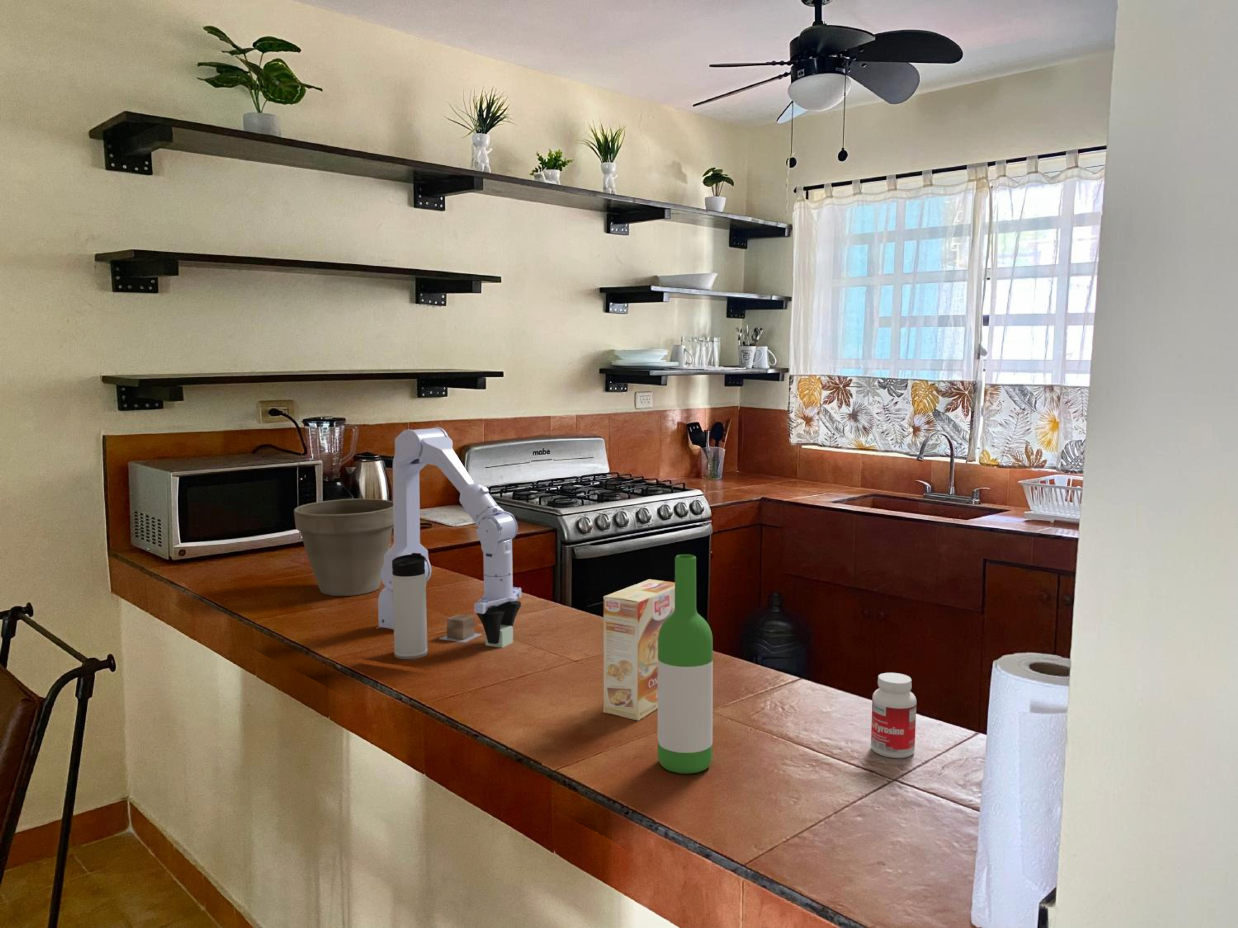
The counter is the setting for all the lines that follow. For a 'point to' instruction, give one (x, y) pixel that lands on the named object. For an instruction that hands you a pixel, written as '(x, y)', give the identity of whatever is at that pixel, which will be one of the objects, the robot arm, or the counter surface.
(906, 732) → the pill bottle
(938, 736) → the counter surface
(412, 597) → the travel mug
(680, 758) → the wine bottle
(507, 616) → the robot arm
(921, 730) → the counter surface
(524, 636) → the counter surface
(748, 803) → the counter surface
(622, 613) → the coffeecake box
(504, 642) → the green block
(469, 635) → the walnut block
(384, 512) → the plant pot
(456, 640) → the white square board
